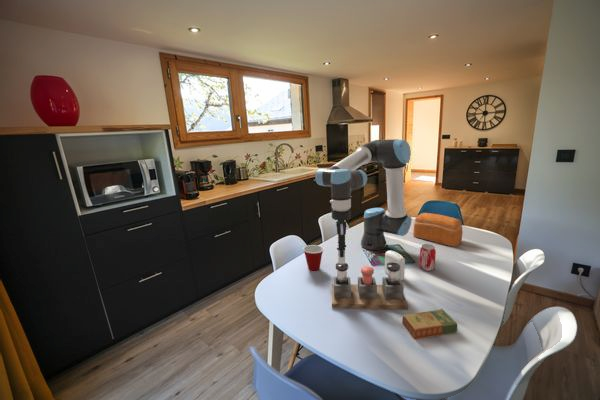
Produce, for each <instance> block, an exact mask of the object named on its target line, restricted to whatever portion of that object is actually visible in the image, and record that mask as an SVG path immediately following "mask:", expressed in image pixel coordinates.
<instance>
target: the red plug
mask: <svg viewBox="0 0 600 400" xmlns="http://www.w3.org/2000/svg"><path fill="white" fill-rule="evenodd" d="M374 270H375V268H374V267H371V266H368V265H363V266H361V267H360V272H361V274H362V276H361V277H362V285H372V277H373V274H374V273H375V271H374Z"/></svg>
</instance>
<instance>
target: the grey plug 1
mask: <svg viewBox="0 0 600 400" xmlns="http://www.w3.org/2000/svg"><path fill="white" fill-rule="evenodd" d="M335 270H336V275H337V276H336V277H337V284H346V285H347V277H348V270H349V265H348V263H346V262H345V264H339V263H338V262H337V263H336V264H335Z"/></svg>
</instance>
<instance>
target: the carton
mask: <svg viewBox="0 0 600 400" xmlns="http://www.w3.org/2000/svg"><path fill="white" fill-rule="evenodd" d="M401 323H402V325H403V326H404V327H405V329H406V330H407V332H408V333H409V334H410V336H411V337H412V338H413V340H419V339H425V338H432V337H438V336H439V337H440V336H445V335H452V334H457V333H458V323H457V322H456V321H455V320H454V319H453V318H452V316H451V315H449V314H448V313H447V312H446V310H444V309H442V308H441V309H435V310H428V311H422V312H416V313H415V312H414V313H408V314H403V315H402V322H401Z"/></svg>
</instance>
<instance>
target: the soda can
mask: <svg viewBox="0 0 600 400" xmlns="http://www.w3.org/2000/svg"><path fill="white" fill-rule="evenodd" d="M436 254H437V252H436V248H435V246H434V245H432V244H429V243H424V244H422V245H421V247H420V250H419V262H418V264H419V265H418V266H419V268H420V269H422V270H423V271H426V272H427V271H428V272H430V271H433V270H434V269H435V265H436V256H437V255H436Z"/></svg>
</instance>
